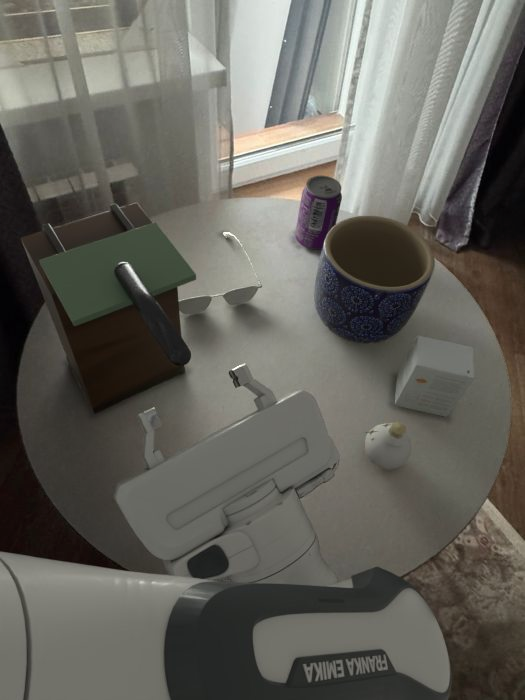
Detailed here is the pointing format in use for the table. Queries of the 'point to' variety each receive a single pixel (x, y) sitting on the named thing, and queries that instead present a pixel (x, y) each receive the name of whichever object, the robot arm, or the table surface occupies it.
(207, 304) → the eyeglasses
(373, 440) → the ornament
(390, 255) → the planter
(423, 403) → the small box
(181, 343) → the door
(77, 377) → the cabinet
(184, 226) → the table surface
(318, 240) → the beverage can
